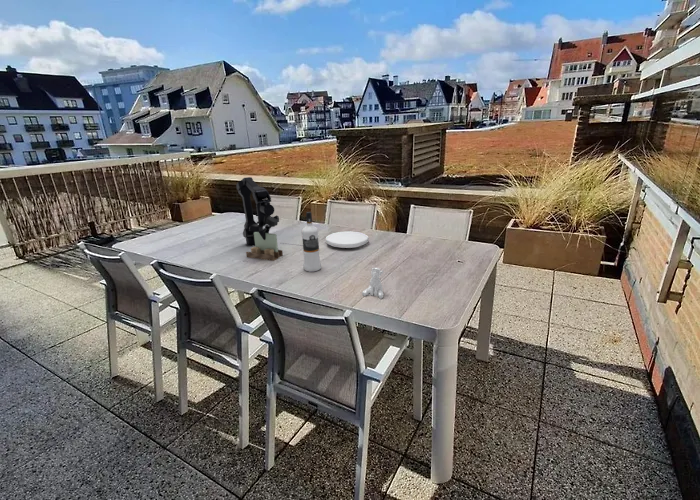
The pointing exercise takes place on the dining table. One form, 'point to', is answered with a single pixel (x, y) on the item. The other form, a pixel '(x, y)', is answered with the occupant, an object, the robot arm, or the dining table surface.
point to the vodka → (310, 246)
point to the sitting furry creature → (374, 284)
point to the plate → (347, 239)
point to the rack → (265, 255)
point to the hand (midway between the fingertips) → (265, 239)
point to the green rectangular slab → (266, 241)
